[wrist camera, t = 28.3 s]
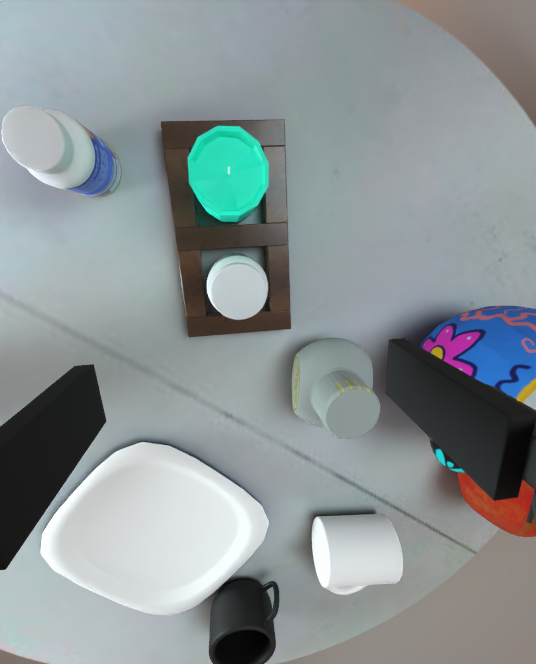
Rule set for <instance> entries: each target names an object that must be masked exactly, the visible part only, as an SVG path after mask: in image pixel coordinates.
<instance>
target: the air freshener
mask: <svg viewBox="0 0 536 664" xmlns="http://www.w3.org/2000/svg"><path fill="white" fill-rule="evenodd" d="M372 387H373V368H372V362H371V359H370V357H369V355H368V354H367V353H366V351H365V350H363V349H362V348H361V347H360V346H358V345H357V344H355V343H353V342H351V341H348V340H345V339H340V338H326V339H321V340H318V341H315V342H312V343H310V344H308V345H307V346H305V347H304V348H303V349H301V350H300V351H299V352H298V353H297V354H296V356H295V359H294V364H293V373H292V405H293V410H294V412H295V414H296V415H297V416H298V417H300V418H301V419H302V420H304V421H306V422H308V423H310V424H312V425H316V426H320V427H325V428H326V430H327V431H328V432H329V433H330V434H332V435H333V436H334V435H335V436H336V437H337V438H341V439H342V438H344V439H352V438H357V437H360V436H362V435H364V434H366V433H367V432H369V431H370V430H371V429H372V428H373V427H374V425H375V424H376V422H377V420H378V418H379V415H380V402H379V399H378V397H377V396H376V395H375V393H374V392H373V391H372Z"/></svg>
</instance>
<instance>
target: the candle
mask: <svg viewBox="0 0 536 664" xmlns="http://www.w3.org/2000/svg"><path fill="white" fill-rule="evenodd" d="M187 159H188V174H189V184H190V186H191V187H192V189H193V191H194V193H195V195H196V196H197V198H198V200H199V202H200V203H201V205H202V206H203V207H204V208H205V210H206V211H207V212H208V213H209V214H210V215H211V216H213V217H215V218H216V219H218V220H219V221H221V222H227V223H238V222H239V221H241V220H243V219H244V218H246V217H248V216H250V214H251V213H252V212H253V211H254V209H255V208H256V207H257V206H258V204H259V202H260V200H261V199H262V197H263V195H264V193H265V192H266V190H267V188H268V183H269V163H268V161H267V159H266V156H265V154H264V152H263V150H262V148H261V145H260V143H259V141H257V140H256V139H255V138H254V137H252V136H251V135H250V134H249V133H247V132H246V131H245V130H244V129H242V128H241V127H240V126H216V127H214V128H213V129H211V130H209V131H207V132H206V133H204V134H202V135H200V136H199V137H198V138H197V140H196V142H195V144H194V146H193V148H192V150H191V152H190V154H189V156H188V158H187Z"/></svg>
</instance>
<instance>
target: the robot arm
mask: <svg viewBox="0 0 536 664" xmlns="http://www.w3.org/2000/svg"><path fill="white" fill-rule="evenodd" d="M385 393H386V394H387V395H388V396H389V397H390V398H391V399H392V400H393V401H394V402H395V403H396V404H397V405H398V406H399V407H400V408H401V409H402V410H403V411H404V412H405V413H406V414H407V415H408V416H409V417H410V418H411V419H412V420H413V421H414V422H415V423H416V424H417V425H418V426H419V427H420V428H421V429H422V430H423V431H424V432H425V433H426V434H427V435H428V436H429V437H430V438H431V439H432V440H433V441H434V442H435V443H436V444H437V445H438V446H439V447H440V448H441V449H442V450H443V451H444V452H445V453H446V454H447V455H448V456H449V457H450V458H451V459H452V460H453V461H454V462H455V463H456V464H457V465H458V466H459V467H460V468H461V469H462V470H463V471H464V472H465V473H466V474H467V475H468V476H469V477H470V478H471V479H472V480H473V481H474V482H475V483H476V484H477V485H478V486H479V487H480V488H481V489H482V490H483V491H484V492H485V493H486V494H487V495H488V496H489V497H490V498H491V499H492V500H493V501H497V500H504V499H511V498H518V496H519V491H520V487H521V483H522V479H523V480H524V481H525V482H526V483H527V484H529V485H530V486H531V487H532V488H533V489H534V493H533V497H532V501H531V505H530V509H529V513H528V517H527V521H526V522H528V523H532V520H533V519H535V526H536V410H535V409H533V408H531V407H529V406H528V405H526V404H524V403H522V402H521V401H517V399H515V398H513V397H512V396H510V395H507V394H506V393H504V392H503V391H501V390H499V389H497V388H496V387H494V386H491V385H488V384H485V383H482V382H480V381H479V380H477V379H475V378H473V377H472V376H470V375H468V374H466V373H465V372H463V371H461V370H459V369H458V368H456V367H454V366H452V365H451V364H449V363H447V362H445V361H444V360H442V359H440V358H438V357H437V356H435V355H433V354H431V353H430V352H428V351H426V350H424V349H423V348H421V347H419V346H417V345H416V344H414V343H412V342H410V341H409V340H407V339H405V338H403V339H391V340H389V349H388V363H387V378H386V392H385ZM105 423H106V417H105V413H104V409H103V404H102V400H101V395H100V391H99V386H98V382H97V377H96V373H95V369H94V365H82V366H74V367H73V368H72V369H70V370H69V371H68V372H67V373H66V374H64V375H63V376H62V377H61V378H59V379H58V380H57V381H56V382H55V383H53V384H52V385H51V386H50V387H48V388H47V389H46V390H45V391H44V392H42V393H41V394H40V395H39V396H37V397H36V398H35V399H34V400H33V401H31V402H30V403H29V404H28V405H26V406H25V407H24V408H23V409H22V410H20V411H19V412H18V413H17V414H15V415H14V416H13V417H12V418H11V419H9V420H8V421H7V422H6V423H4V424H3V425H2V426H1V427H0V570H5V569H6V568H7V567H8V565H9V564H10V562H11V561H12V559H13V558H14V557H15V555H16V554H17V552H18V551H19V549H20V548H21V546H22V545H23V543H24V542H25V540H26V539H27V537H28V536H29V534H30V533H31V531H32V530H33V529H34V527H35V526H36V524H37V523H38V521H39V520H40V518H41V517H42V515H43V514H44V512H45V511H46V509H47V508H48V506H49V505H50V504H51V502H52V501H53V499H54V498H55V496H56V495H57V493H58V492H59V490H60V489H61V487H62V486H63V484H64V483H65V481H66V480H67V478H68V477H69V476H70V474H71V473H72V471H73V470H74V468H75V467H76V465H77V464H78V462H79V461H80V459H81V458H82V456H83V455H84V453H85V452H86V451H87V449H88V448H89V446H90V445H91V443H92V442H93V440H94V439H95V437H96V436H97V434H98V433H99V431H100V430H101V428H102V427H103V425H104V424H105Z"/></svg>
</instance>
